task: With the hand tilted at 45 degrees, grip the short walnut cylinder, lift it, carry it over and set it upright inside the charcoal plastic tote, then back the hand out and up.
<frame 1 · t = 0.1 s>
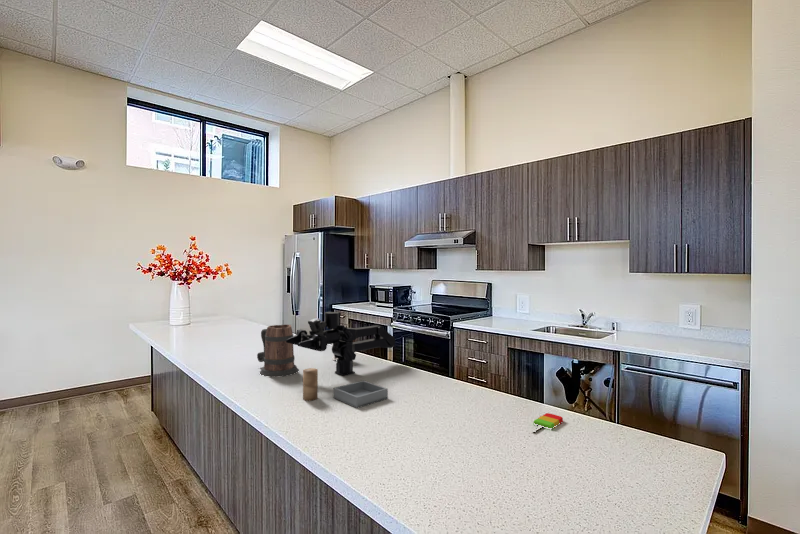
hand: (292, 342, 156), 17 cm above the countertop, tool horizontal, fingers open, 9 cm apart
walnut cylinder: (310, 398, 141), on the countertop
beer glass: (338, 359, 198), on the countertop
tote: (360, 398, 142), on the countertop
tankard: (274, 370, 178), on the countertop
popsicle: (544, 428, 119), on the countertop
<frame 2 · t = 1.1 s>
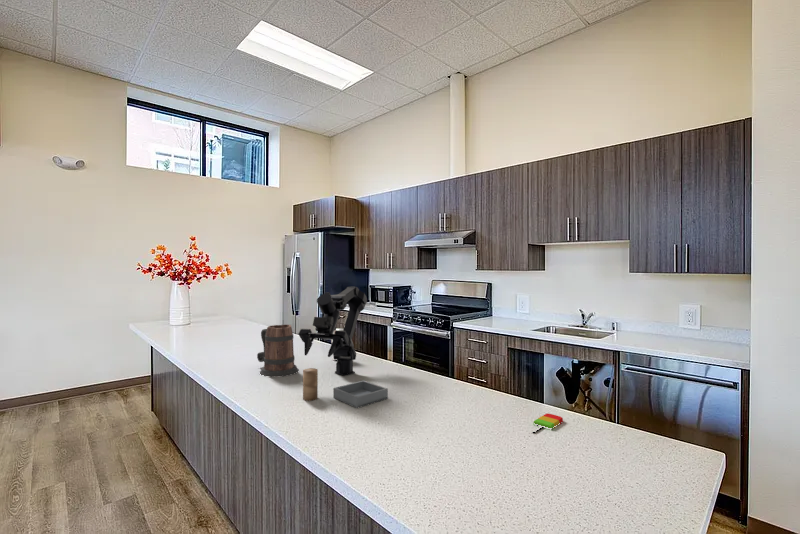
hand: (316, 355, 147), 14 cm above the countertop, tool tilted 45°, fingers open, 9 cm apart
nothing on the countertop moved.
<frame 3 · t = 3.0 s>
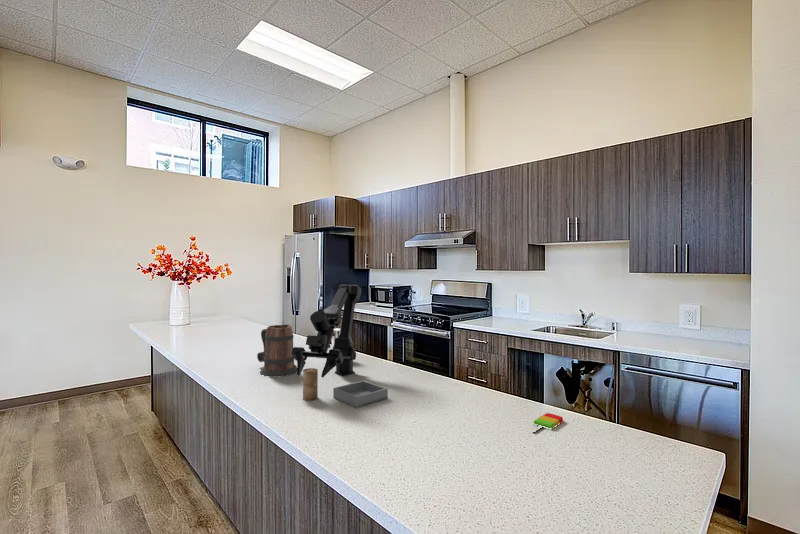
hand: (309, 376, 141), 8 cm above the countertop, tool tilted 45°, fingers open, 9 cm apart
nothing on the countertop moved.
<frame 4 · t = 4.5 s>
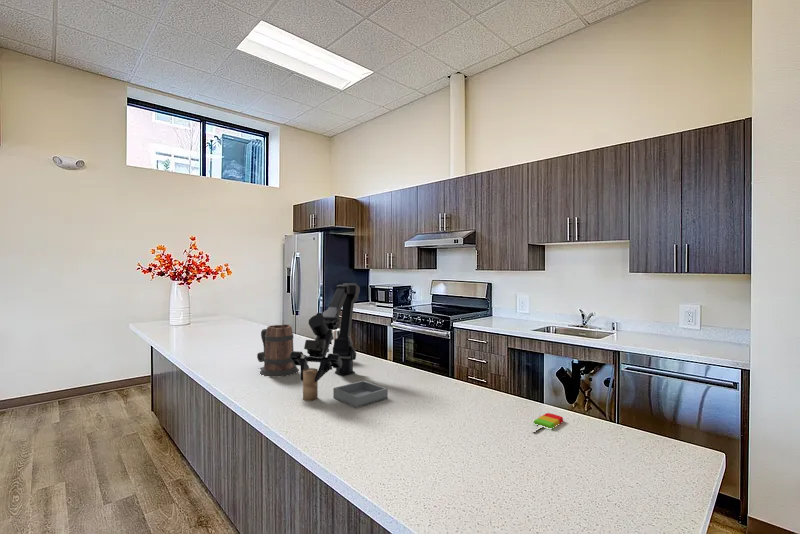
hand: (308, 380, 140), 7 cm above the countertop, tool tilted 45°, fingers closed on walnut cylinder, 5 cm apart
walnut cylinder: (310, 398, 141), on the countertop, touching gripper
everything else where it was.
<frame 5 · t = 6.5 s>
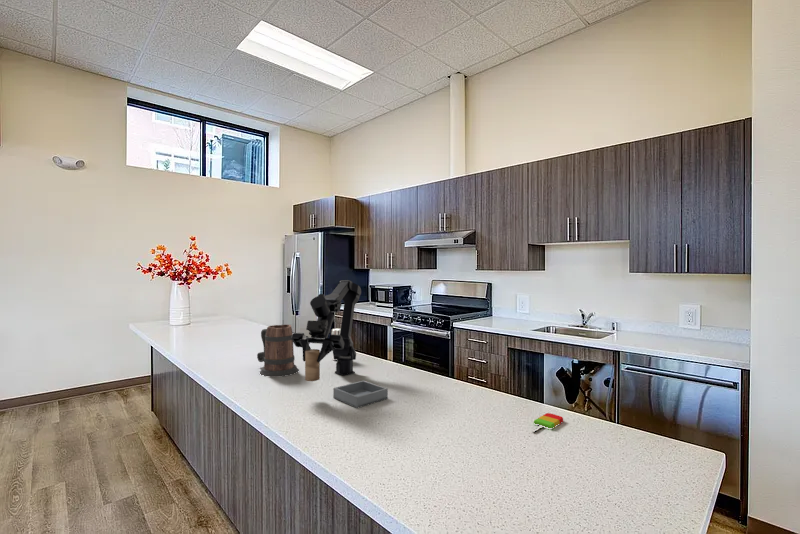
hand: (310, 361, 140), 13 cm above the countertop, tool tilted 45°, fingers closed on walnut cylinder, 5 cm apart
walnut cylinder: (312, 379, 141), point 7 cm above the countertop, touching gripper
everything else where it was.
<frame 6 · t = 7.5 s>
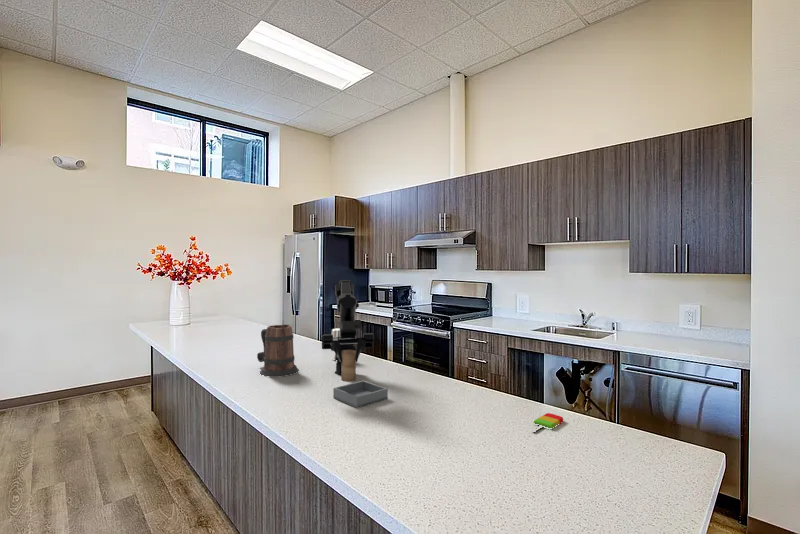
hand: (348, 361, 139), 13 cm above the countertop, tool tilted 45°, fingers closed on walnut cylinder, 5 cm apart
walnut cylinder: (348, 379, 141), point 7 cm above the countertop, touching gripper
everything else where it was.
when the fingers open (9 cm above the countertop, at t = 9.5 s): walnut cylinder drops 1 cm, resting on tote.
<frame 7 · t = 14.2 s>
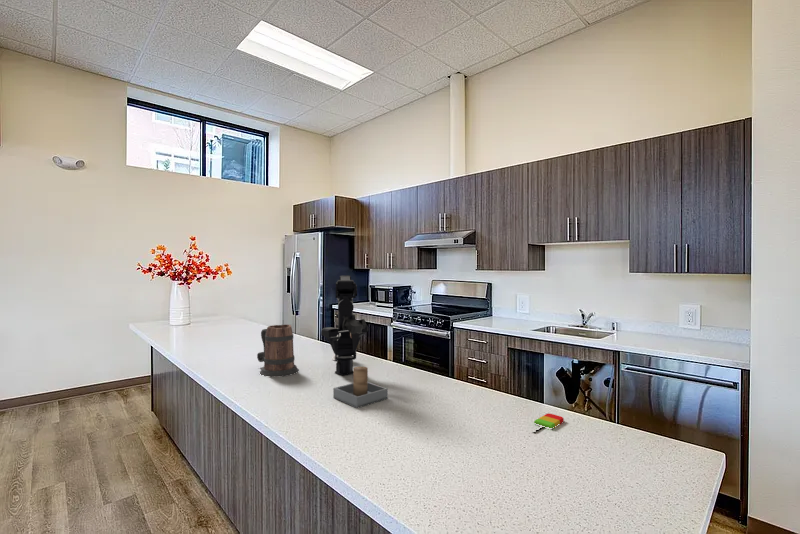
hand: (345, 352, 157), 13 cm above the countertop, tool pointing down, fingers open, 9 cm apart
walnut cylinder: (360, 396, 142), point 1 cm above the countertop, touching tote
everything else where it was.
at the end: walnut cylinder inside the target area on the tote (0.0 cm from its centre), point 0.6 cm above the tote's base; walnut cylinder tilted 0°; the gripper is holding nothing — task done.
